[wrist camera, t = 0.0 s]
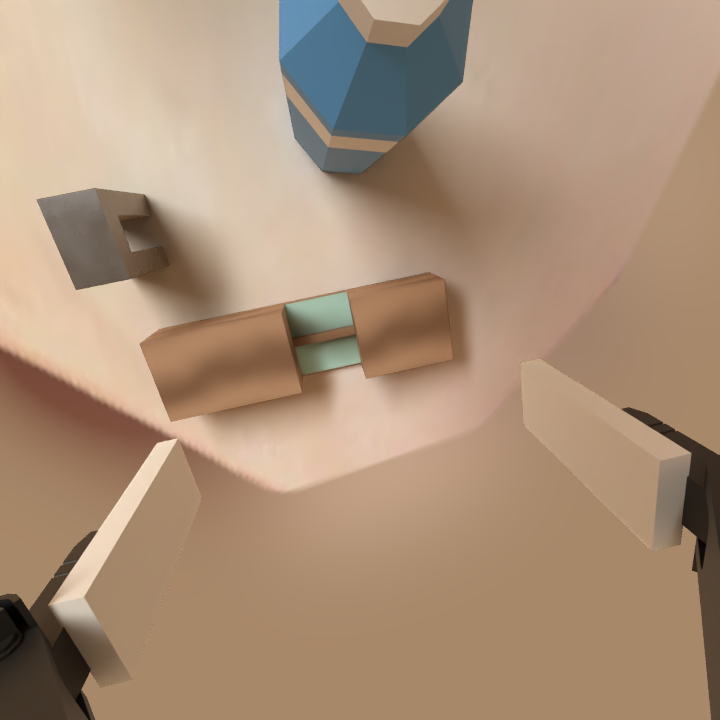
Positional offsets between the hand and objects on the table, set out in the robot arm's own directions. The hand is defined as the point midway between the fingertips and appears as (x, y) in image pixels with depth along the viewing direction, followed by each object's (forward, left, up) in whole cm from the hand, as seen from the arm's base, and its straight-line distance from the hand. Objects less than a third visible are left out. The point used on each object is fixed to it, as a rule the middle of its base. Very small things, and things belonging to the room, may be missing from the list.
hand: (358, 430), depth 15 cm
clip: (-9, -16, -28) cm, 34 cm away
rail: (+4, -3, -28) cm, 28 cm away
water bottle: (-15, +5, -28) cm, 32 cm away
